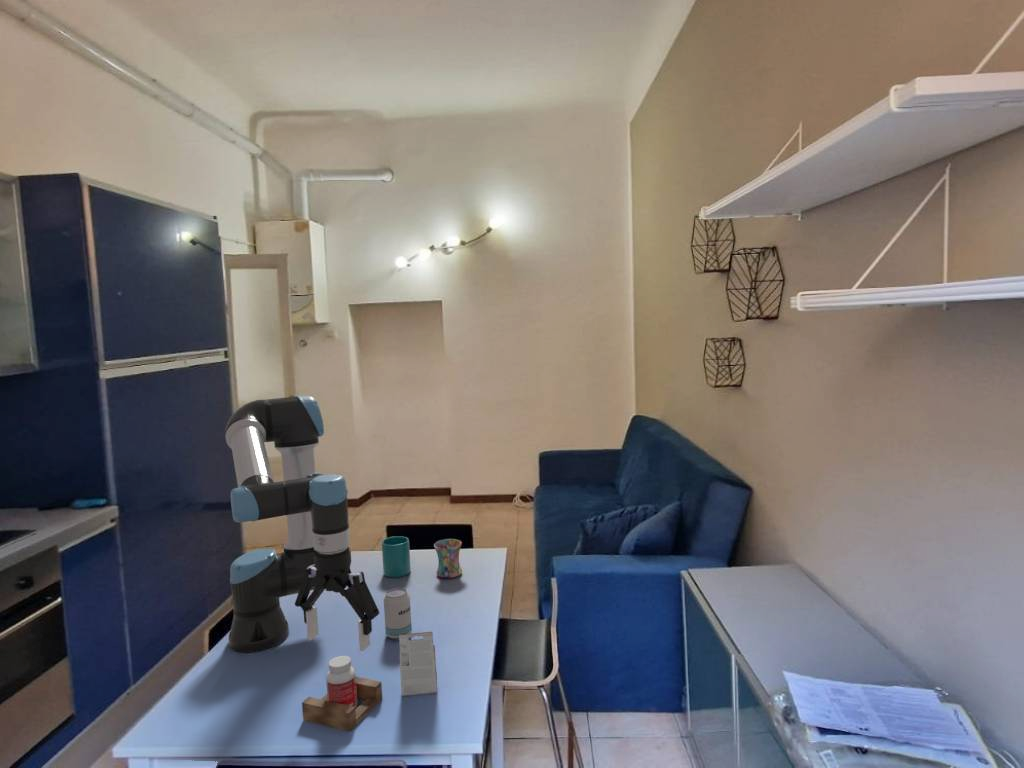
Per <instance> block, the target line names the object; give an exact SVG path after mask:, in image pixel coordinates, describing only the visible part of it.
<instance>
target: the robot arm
mask: <svg viewBox="0 0 1024 768" xmlns="http://www.w3.org/2000/svg"><path fill="white" fill-rule="evenodd" d="M323 420H324V419H323V417H322V412H321V409H320V406H319V403H318V402H317V400H316V398H314V397H313V396H311V395H309V396H307V395H303V396H301V395H300V396H299V395H297V396H288V397H286V396H285V397H280V398H279V397H278V398H268V399H256V400H252V401H250V402H247V403H245V404H243V405H242V406H241V407H239V408H238V409H237V410H236V411H234V413H233V414H232V415H231V416H230V418H229V419H228V421H227V423H226V426H225V431H224V437H225V443H226V444H227V446H228V448H230V449H231V451H232V452H231V453H232V458H233V462H234V463H233V464H234V470H235V475H236V481H237V487H235V488H232V489H231V490H230V504H231V513H232V519H233V521H234V522H235V523H240V524H241V523H247V522H252V523H253V522H257V521H261V520H266V519H273V518H278V517H283V516H286V524H287V525H286V526H287V535H288V537H287V540H286V541H285V543H283V545H282V546H283V547H282V548H283V551H282V552H280V553H279V552H278V553H277V552H276V550H275V549H274V548H270V547H268V548H259V549H255V550H252V551H249V552H246V553H244V554H242V555H241V556H239V557H237V558H236V559H235V560H234V561H232V562H231V565H230V568H229V572H230V578H229V582H230V586H231V595H232V600H231V601H232V611H233V618H232V621H231V626H230V631H229V634H228V647H229V648H230V649H232V650H233V651H235V652H238V653H252V652H253V653H254V652H259V651H264V650H267V649H270V648H273V647H275V646H277V645H279V644H281V643H282V642H283V641H284V640H285V639H287V637H288V636H289V634H290V628H289V627H290V626H289V623H288V620H287V619H286V616H285V614H284V612H283V610H282V607H281V602H280V598H283V597H287V596H291V595H297V596H296V599H295V602H294V605H295V607H298V608H299V607H300V608H301V610H302V611H303V620H304V624H306V632H307V633H306V634H307V640H308V641H312V640H314V639H315V638H316V637H317V636H318V635H319V634H320V633H319V622H318V607H317V606H314V605H315V603H316V602H317V601H318V599H319V598H320V596H321V595H322V594H323V593H324V591H326V592H334V593H336V594H337V593H339V594H340V596H342V597H344V598H345V599H346V600H347V602H348V604H349V605H350V607H351V608H352V609H353V610H354V612H355V613H356V615H357V616H358V618H359V620H358V621H357V629H358V643H359V647H358V648H359V652H364V651H365V650H366V649H368V647H370V646H371V639H370V638H371V637H370V634H371V633H372V631H373V626H372V625H373V624H372V620H374V619H375V618H376V617H378V616H379V615H380V610H379V608H378V606H377V604H376V602H375V599H374V598H373V595H372V593H371V591H370V589H369V587H368V585H367V583H366V579H365V574H364V573H365V572H363V571H362V570H360V571H359V572H357V573H355V572H352V571H351V570H352V569H351V564H352V553H351V552H352V551H351V547H350V545H351V537H350V535H351V533H350V524H349V522H350V521H349V508H348V507H349V506H348V494H349V493H348V488H347V482H346V478H345V477H344V476H343V475H341V474H336V473H335V474H334V473H327V474H325V473H324V472H320V471H318V472H317V471H316V462H315V461H316V460H315V448H316V447H317V446H318V445H319V444H320V443H319V442H320V441H319V438H321V437H323V436H324V434H325V429H324V428H325V426H324V421H323ZM271 442H272V443H273V442H274V449H275V450H276V451H277V452H279V453H280V454H281V457H280V458H281V465H282V478H283V480H281V481H275V479H274V476H273V472H272V467H271V464H270V461H269V460H270V459H269V456H268V452H267V449H266V445H265V443H271ZM347 587H348V588H347ZM311 591H312V592H311Z"/></svg>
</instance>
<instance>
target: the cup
mask: <svg viewBox="0 0 1024 768" xmlns="http://www.w3.org/2000/svg"><path fill="white" fill-rule="evenodd" d="M410 554H411V552H410V540H409V537H407V536H402V535H401V536H400V535H399V536H389V537H386V538H384V539H383V540H382V541H381V556H382V569H383V570H382V571H383V575H384V576H385V577H387V578H401V577H405V576H407V575H408V574H409V573H410V572H411V571H412V570H411V569H412V568H411V555H410Z"/></svg>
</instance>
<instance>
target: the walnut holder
mask: <svg viewBox="0 0 1024 768" xmlns="http://www.w3.org/2000/svg"><path fill="white" fill-rule="evenodd" d="M356 688H357V701H360V702H361V704H360V705H359V706H357V708H356V710H355V707H352V706H347V705H343V704H339V703H334V702H330V701H328V696H327V693H326V694H325V695H324V696H323V697H322V698H317V697H312V696H308V697H307V698H305V699H304V700H303V701H302V702H301V706H302V707H301V708H302V720H303V721H305V722H310V723H314V724H318V725H321V726H325V727H329V728H334V729H338V730H341V731H345V732H348V733H349V732H351V731H353V729H354V728H356V727H357V726H358V724H359V723H360V722H361V721H362V720H364V718H365V717H366V716H367V715H368V714H369V713H370V712H371V711H372V710H373V709H374V708H375V706H377V705H378V704H379V703H380V702H381V701H382V700H383V689H382V681H379V680H375V679H369V678H364V677H362V676H361V677H360V676H356Z"/></svg>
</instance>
